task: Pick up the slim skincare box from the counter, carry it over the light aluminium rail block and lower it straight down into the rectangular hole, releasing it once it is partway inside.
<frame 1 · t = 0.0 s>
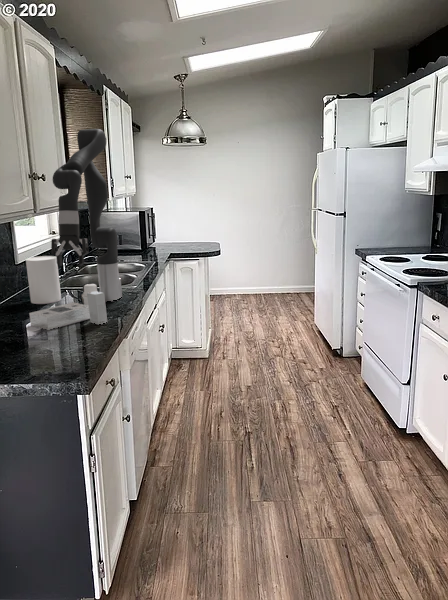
hand: (70, 265, 197), 22 cm above the counter, tool pointing down, fingers open, 8 cm apart
medicine bottle: (92, 311, 217), on the counter
skincare box: (98, 323, 199), on the counter
canister: (46, 300, 240), on the counter
rail block: (62, 321, 202), on the counter
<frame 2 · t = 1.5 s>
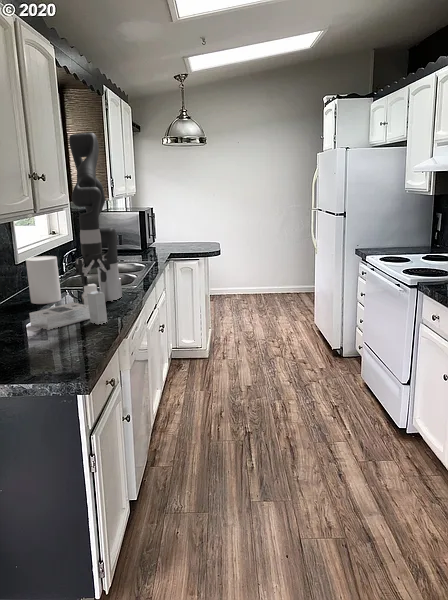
hand: (94, 283, 195), 16 cm above the counter, tool pointing down, fingers open, 8 cm apart
nothing on the counter moved.
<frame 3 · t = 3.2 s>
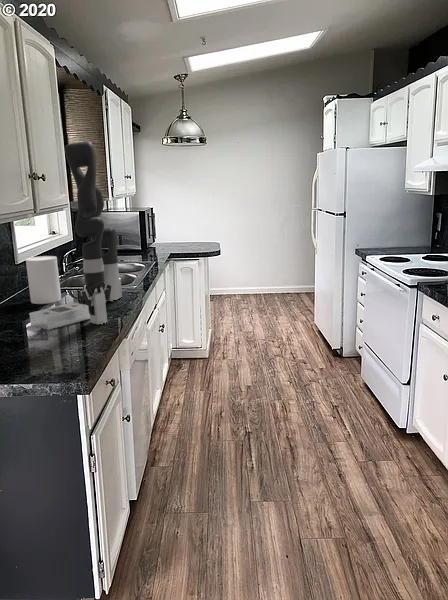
hand: (97, 313, 198), 4 cm above the counter, tool pointing down, fingers closed on skincare box, 4 cm apart
skincare box: (98, 323, 199), on the counter, touching gripper
everything else where it was.
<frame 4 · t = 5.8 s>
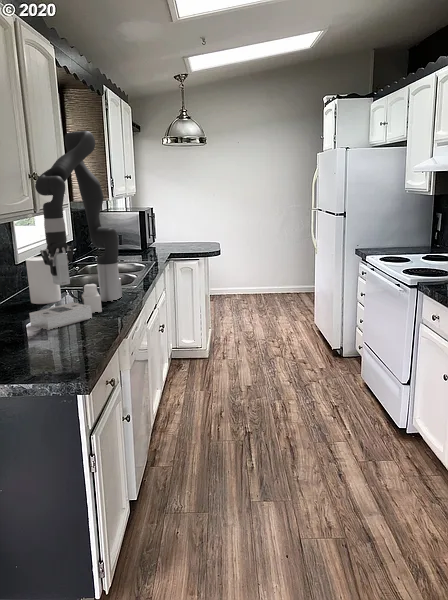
hand: (60, 274, 197), 19 cm above the counter, tool pointing down, fingers closed on skincare box, 4 cm apart
skincare box: (61, 284, 198), point 15 cm above the counter, touching gripper
everything else where it was.
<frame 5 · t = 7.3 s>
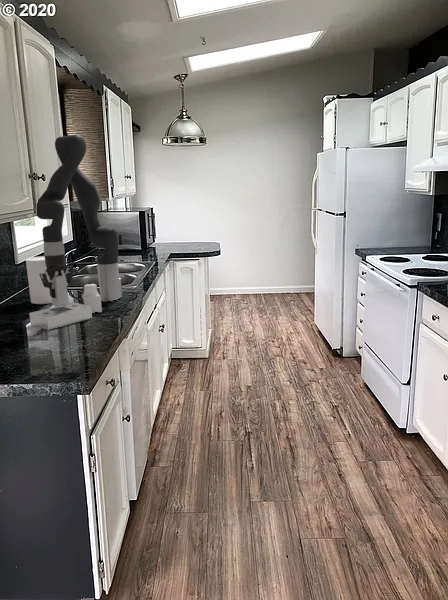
hand: (59, 296, 200), 10 cm above the counter, tool pointing down, fingers closed on skincare box, 4 cm apart
skincare box: (60, 306, 201), point 6 cm above the counter, touching gripper
everything else where it was.
when the fingers open (6 cm above the counter, at t = 8.6 s): skincare box drops 2 cm, resting in rail block.
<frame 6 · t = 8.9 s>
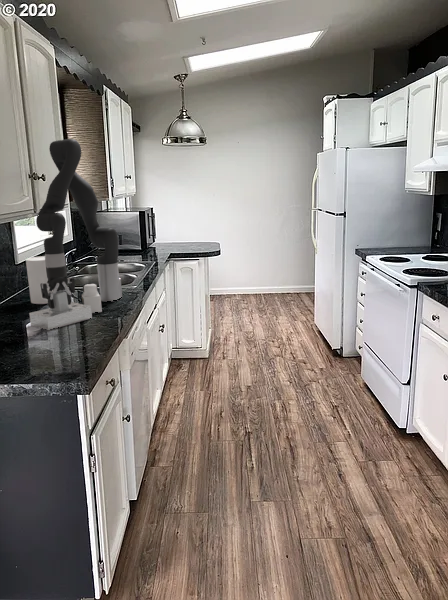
hand: (60, 306, 201), 6 cm above the counter, tool pointing down, fingers open, 7 cm apart
skincare box: (61, 322, 202), resting in rail block
everything else where it was.
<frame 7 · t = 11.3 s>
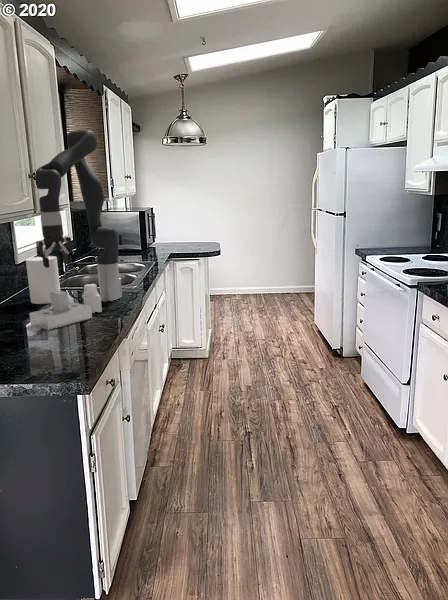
hand: (56, 265, 198), 22 cm above the counter, tool pointing down, fingers open, 8 cm apart
nothing on the counter moved.
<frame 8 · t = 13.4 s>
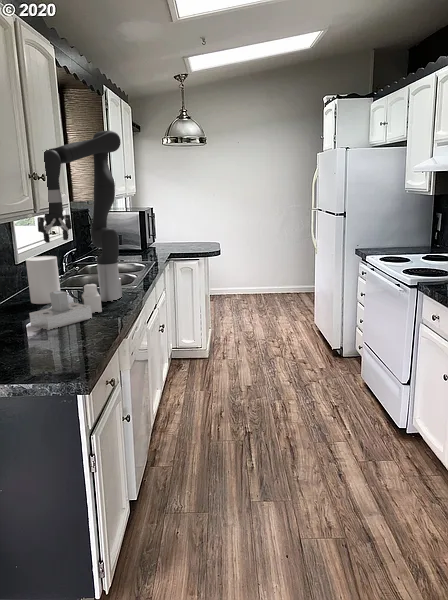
hand: (56, 241, 211), 30 cm above the counter, tool pointing down, fingers open, 8 cm apart
nothing on the counter moved.
at the end: skincare box 0.1 cm off-centre on the rail block, point 0.0 cm above the rail block's base; skincare box tilted 0°; the gripper is holding nothing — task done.
